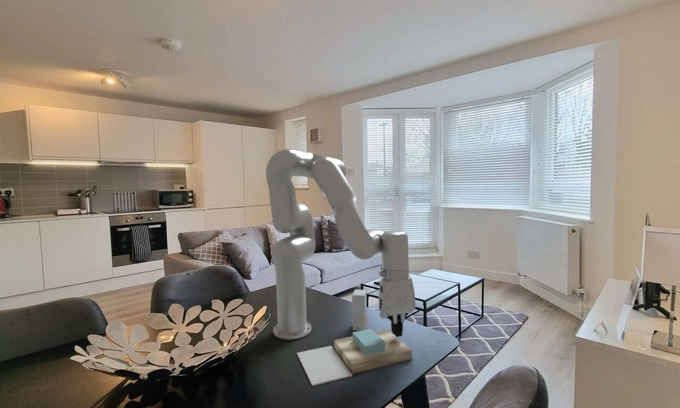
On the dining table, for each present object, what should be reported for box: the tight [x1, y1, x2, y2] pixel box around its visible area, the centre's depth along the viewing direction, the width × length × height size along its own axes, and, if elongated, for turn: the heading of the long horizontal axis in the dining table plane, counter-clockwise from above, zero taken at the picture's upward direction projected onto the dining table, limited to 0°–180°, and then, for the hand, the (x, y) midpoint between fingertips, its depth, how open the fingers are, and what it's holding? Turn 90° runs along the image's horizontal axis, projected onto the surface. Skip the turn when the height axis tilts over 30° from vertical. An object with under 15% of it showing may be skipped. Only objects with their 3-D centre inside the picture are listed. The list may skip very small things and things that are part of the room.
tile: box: [352, 328, 385, 355], centre depth 93 cm, size 9×6×2 cm, turn 21°
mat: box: [296, 345, 353, 387], centre depth 88 cm, size 16×10×1 cm, turn 21°
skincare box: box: [351, 289, 368, 331], centre depth 110 cm, size 6×4×12 cm
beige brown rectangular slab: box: [333, 329, 413, 375], centre depth 93 cm, size 14×18×2 cm
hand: (397, 334), depth 96 cm, fingers closed
